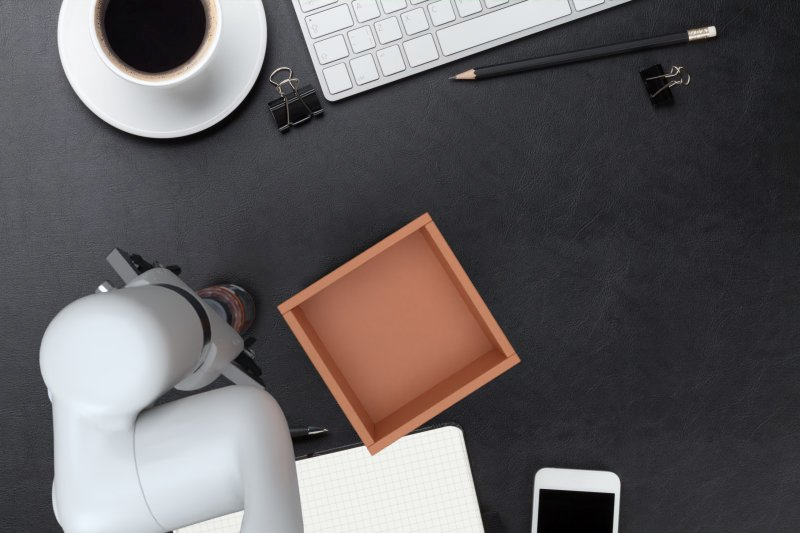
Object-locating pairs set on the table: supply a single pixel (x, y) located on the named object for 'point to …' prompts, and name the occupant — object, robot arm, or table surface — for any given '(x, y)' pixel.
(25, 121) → the table surface
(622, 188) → the table surface
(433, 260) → the bin
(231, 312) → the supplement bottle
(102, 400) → the robot arm
